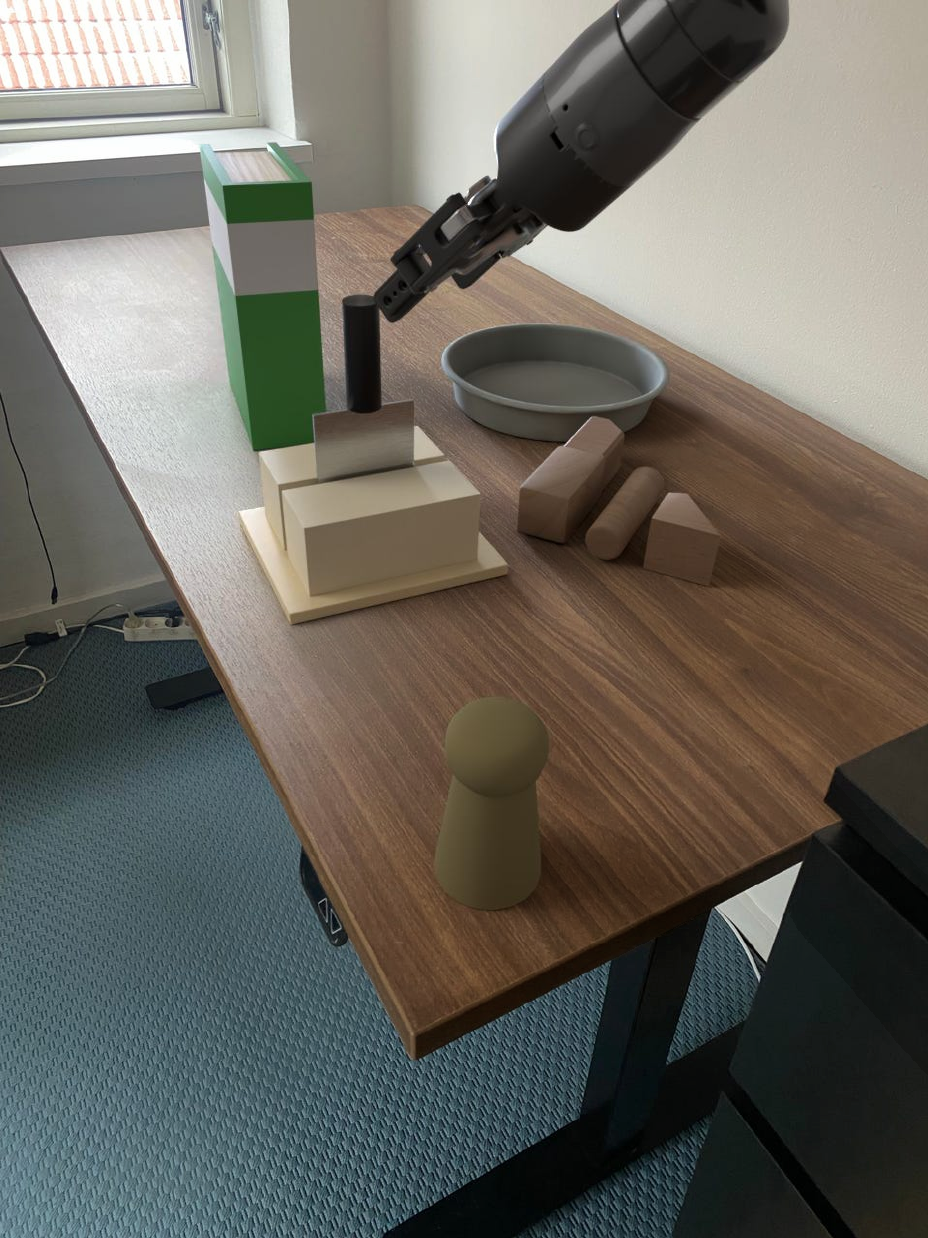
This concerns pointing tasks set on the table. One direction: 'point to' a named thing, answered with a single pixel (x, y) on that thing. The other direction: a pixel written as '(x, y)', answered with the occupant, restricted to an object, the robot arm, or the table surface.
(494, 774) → the chess pawn figurine
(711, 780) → the table surface
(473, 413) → the cake pan
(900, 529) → the table surface
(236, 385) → the hardback book
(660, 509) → the wooden block set
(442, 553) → the slotted fixture
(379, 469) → the knife
